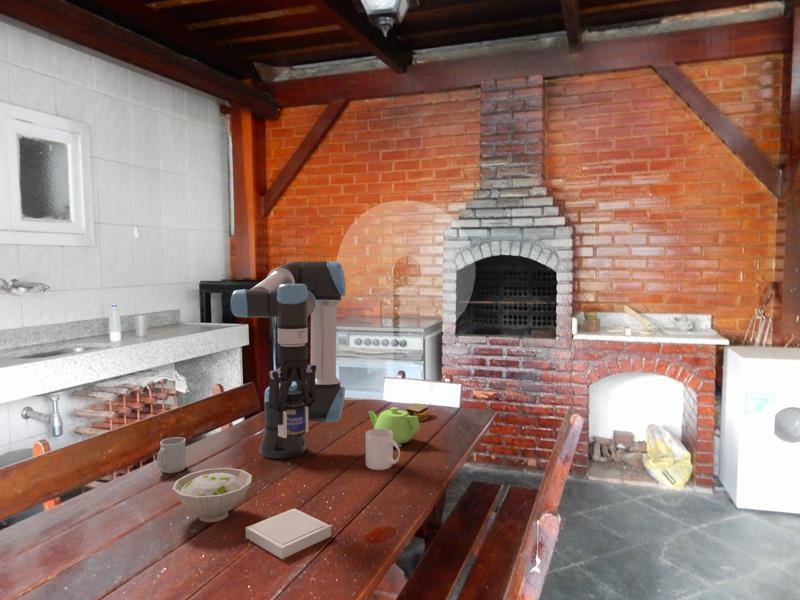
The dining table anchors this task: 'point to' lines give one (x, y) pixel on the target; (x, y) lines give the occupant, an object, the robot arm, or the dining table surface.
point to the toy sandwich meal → (418, 411)
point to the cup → (172, 455)
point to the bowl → (212, 491)
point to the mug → (380, 449)
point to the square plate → (288, 533)
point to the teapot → (396, 424)
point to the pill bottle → (295, 414)
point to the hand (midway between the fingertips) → (293, 433)
